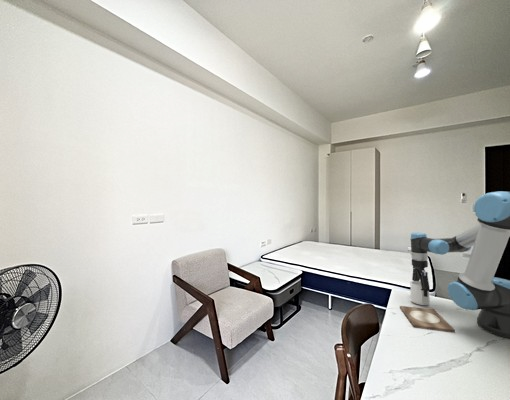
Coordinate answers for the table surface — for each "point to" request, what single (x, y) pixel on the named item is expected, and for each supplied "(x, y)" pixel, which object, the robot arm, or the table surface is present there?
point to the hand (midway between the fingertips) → (421, 297)
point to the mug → (417, 293)
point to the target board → (426, 319)
